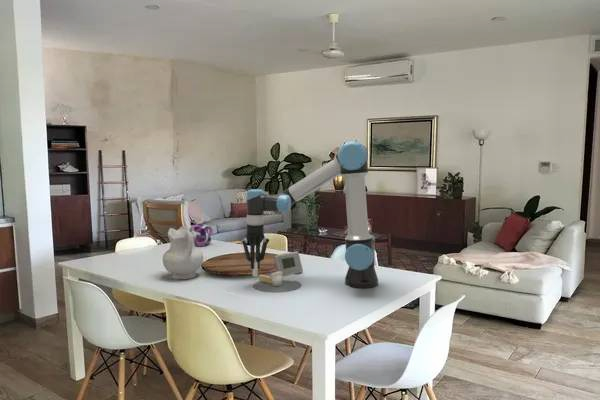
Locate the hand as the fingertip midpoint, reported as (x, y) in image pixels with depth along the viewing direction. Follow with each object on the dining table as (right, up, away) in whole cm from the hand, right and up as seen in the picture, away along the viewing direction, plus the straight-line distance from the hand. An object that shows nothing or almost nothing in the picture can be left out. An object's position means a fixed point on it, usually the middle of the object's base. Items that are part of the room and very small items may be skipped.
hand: (255, 275), depth 209 cm
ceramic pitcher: (-36, -4, +18) cm, 40 cm away
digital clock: (+15, -3, +21) cm, 26 cm away
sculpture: (-46, +4, +100) cm, 110 cm away
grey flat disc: (+10, -5, -1) cm, 11 cm away
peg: (+7, -4, +2) cm, 8 cm away
